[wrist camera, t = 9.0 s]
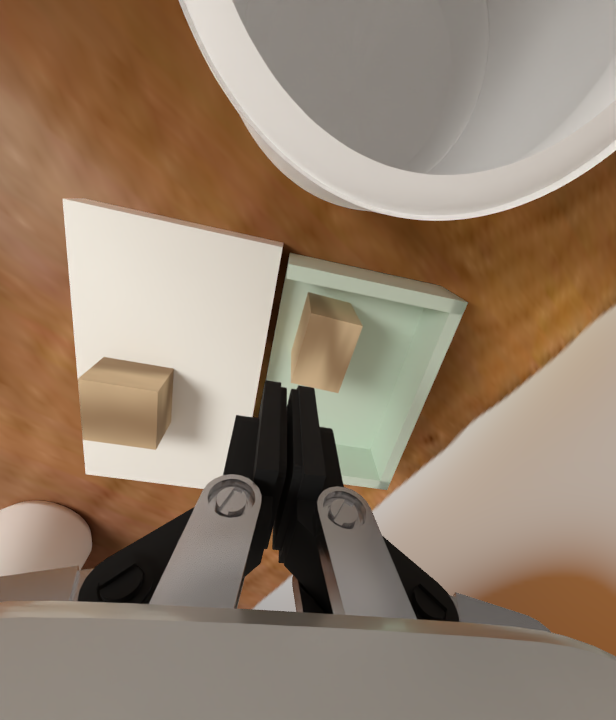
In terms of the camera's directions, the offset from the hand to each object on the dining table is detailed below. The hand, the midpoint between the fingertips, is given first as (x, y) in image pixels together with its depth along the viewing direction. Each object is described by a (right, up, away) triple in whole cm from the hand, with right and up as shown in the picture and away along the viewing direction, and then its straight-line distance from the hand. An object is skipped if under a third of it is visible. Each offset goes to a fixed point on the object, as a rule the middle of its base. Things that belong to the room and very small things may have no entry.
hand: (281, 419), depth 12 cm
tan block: (-11, 0, +12) cm, 16 cm away
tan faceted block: (0, +4, +10) cm, 10 cm away
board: (-9, +2, +13) cm, 16 cm away
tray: (+3, +1, +14) cm, 14 cm away
